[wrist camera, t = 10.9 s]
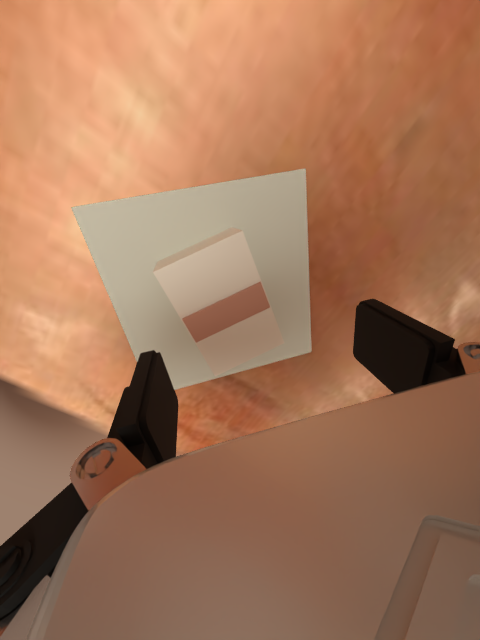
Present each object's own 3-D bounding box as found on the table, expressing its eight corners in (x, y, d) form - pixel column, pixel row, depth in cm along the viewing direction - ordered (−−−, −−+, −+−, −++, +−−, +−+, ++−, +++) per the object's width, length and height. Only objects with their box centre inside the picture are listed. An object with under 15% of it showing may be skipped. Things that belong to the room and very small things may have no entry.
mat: (302, 169, 18) (305, 168, 17) (309, 349, 25) (311, 351, 24) (74, 207, 16) (71, 207, 15) (152, 392, 23) (151, 396, 22)
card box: (269, 324, 22) (285, 344, 19) (210, 352, 22) (215, 378, 18) (231, 227, 18) (243, 230, 15) (157, 261, 18) (152, 273, 14)
